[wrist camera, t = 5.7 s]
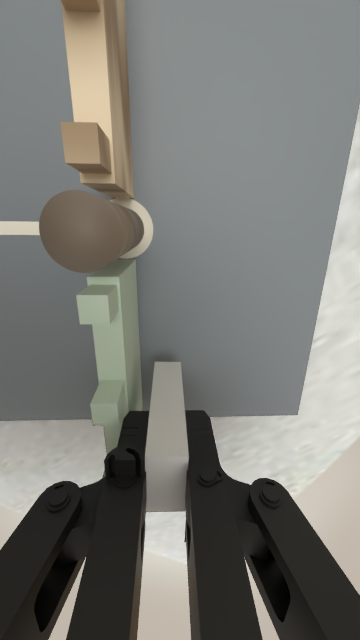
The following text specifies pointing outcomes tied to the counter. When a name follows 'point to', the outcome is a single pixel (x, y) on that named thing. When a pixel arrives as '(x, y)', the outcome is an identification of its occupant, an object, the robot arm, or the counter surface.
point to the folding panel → (114, 344)
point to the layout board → (183, 198)
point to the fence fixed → (94, 143)
